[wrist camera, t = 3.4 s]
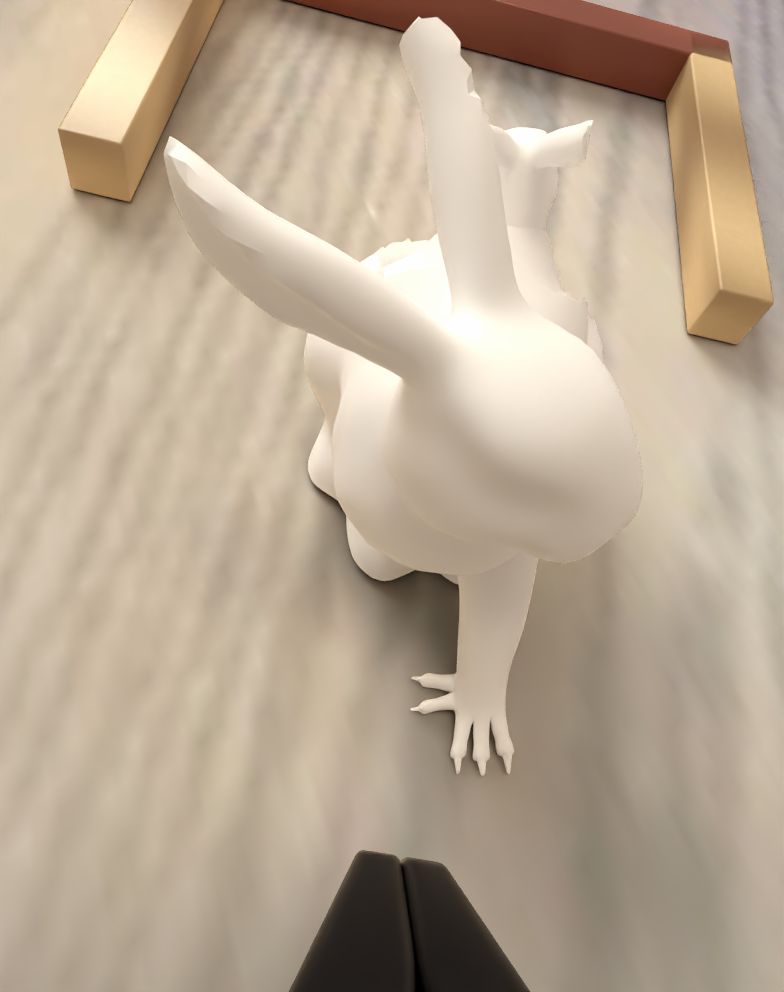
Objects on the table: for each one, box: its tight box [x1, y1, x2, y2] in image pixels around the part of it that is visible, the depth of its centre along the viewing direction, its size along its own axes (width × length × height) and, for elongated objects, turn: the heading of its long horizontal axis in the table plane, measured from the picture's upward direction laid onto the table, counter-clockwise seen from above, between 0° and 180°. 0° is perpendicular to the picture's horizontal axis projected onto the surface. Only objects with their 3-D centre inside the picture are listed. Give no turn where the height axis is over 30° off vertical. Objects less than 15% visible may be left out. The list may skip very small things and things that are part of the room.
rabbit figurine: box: [163, 17, 643, 776], centre depth 13 cm, size 12×8×10 cm, turn 168°
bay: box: [58, 0, 774, 344], centre depth 23 cm, size 13×19×2 cm
